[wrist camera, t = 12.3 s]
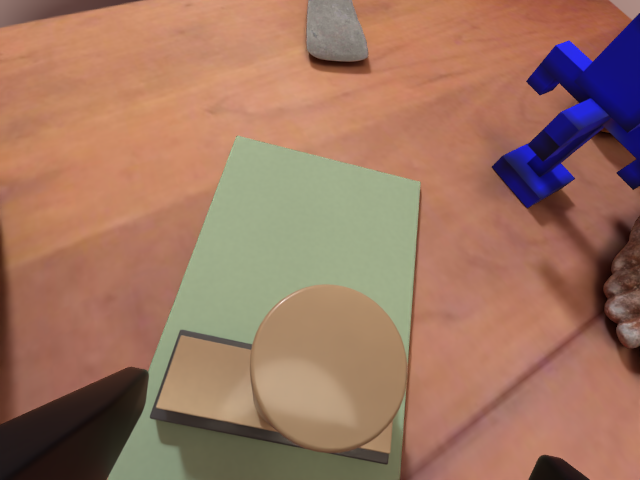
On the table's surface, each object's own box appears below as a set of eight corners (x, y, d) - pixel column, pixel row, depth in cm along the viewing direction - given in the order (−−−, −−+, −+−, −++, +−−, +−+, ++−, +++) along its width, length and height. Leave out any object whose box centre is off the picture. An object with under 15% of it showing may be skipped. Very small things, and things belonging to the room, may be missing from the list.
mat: (392, 535, 17) (396, 539, 16) (109, 482, 16) (105, 484, 16) (418, 185, 26) (420, 181, 25) (237, 140, 25) (236, 135, 25)
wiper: (381, 462, 18) (675, 578, 5) (154, 418, 17) (-117, 432, 5) (389, 376, 19) (621, 312, 7) (183, 332, 19) (46, 178, 6)
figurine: (481, 127, 29) (612, -37, 19) (569, 155, 30) (747, 8, 19) (477, 204, 26) (634, 56, 15) (576, 234, 26) (799, 110, 16)
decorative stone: (346, -11, 35) (294, -16, 34) (349, -25, 33) (295, -31, 32) (367, 68, 30) (307, 65, 29) (371, 54, 29) (309, 51, 28)
